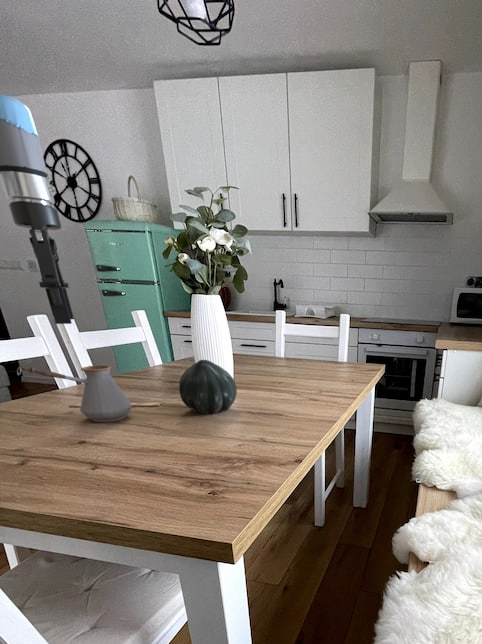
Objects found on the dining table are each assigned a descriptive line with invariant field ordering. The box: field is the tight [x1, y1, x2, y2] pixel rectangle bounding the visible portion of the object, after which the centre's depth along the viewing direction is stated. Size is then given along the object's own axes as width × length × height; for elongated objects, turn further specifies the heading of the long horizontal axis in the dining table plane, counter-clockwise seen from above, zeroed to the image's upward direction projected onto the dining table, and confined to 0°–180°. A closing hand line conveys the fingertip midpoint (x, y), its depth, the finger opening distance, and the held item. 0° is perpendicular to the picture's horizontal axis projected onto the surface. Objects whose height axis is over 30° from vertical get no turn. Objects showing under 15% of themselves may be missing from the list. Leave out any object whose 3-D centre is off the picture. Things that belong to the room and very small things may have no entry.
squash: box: [178, 359, 238, 415], centre depth 109 cm, size 14×15×15 cm
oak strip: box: [68, 402, 162, 408], centre depth 114 cm, size 24×3×1 cm, turn 97°
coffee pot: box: [16, 365, 133, 423], centre depth 96 cm, size 21×12×15 cm, turn 142°
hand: (65, 321), depth 86 cm, fingers open, 13 cm apart
